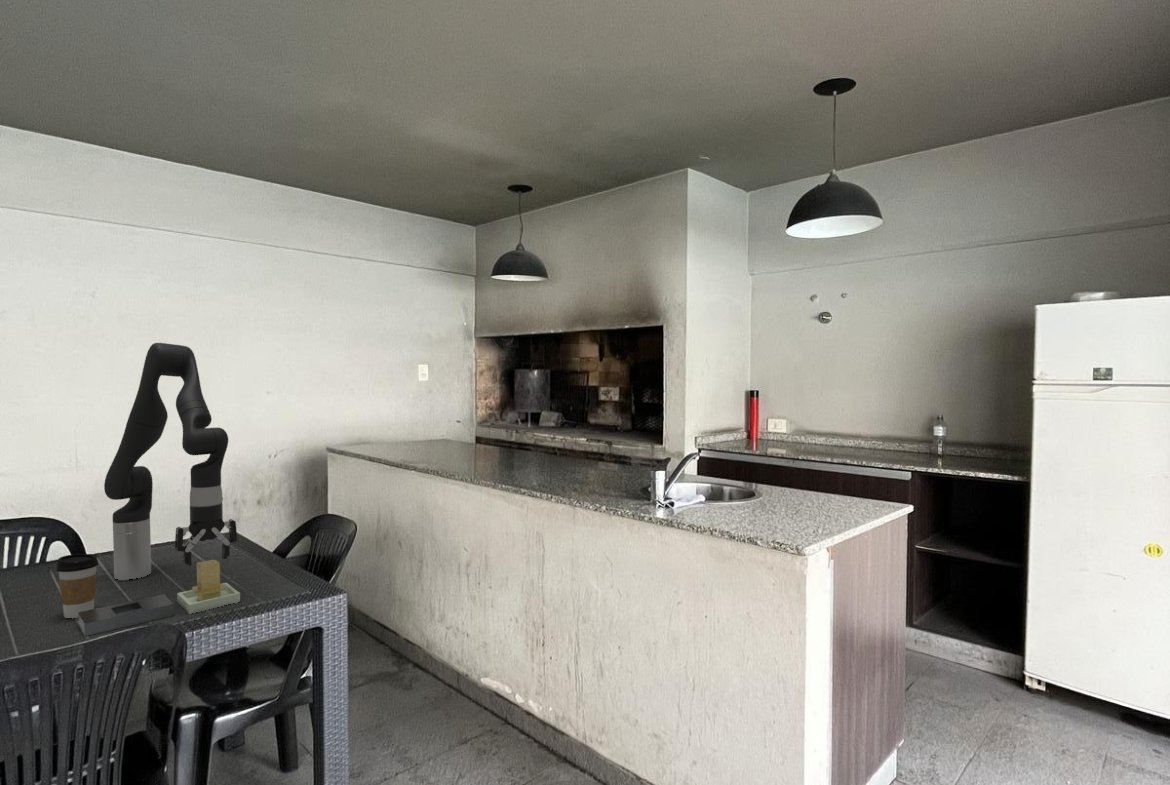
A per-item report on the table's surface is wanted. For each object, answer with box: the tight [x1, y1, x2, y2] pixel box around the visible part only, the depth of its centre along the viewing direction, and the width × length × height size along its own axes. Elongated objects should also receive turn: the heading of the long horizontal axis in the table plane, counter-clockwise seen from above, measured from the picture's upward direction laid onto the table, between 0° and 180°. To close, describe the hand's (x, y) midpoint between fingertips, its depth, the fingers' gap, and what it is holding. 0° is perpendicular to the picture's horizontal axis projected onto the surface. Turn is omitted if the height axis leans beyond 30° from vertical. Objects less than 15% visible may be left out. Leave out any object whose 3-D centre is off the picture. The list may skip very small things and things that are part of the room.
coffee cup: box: [56, 553, 99, 620], centre depth 163 cm, size 8×8×15 cm
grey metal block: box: [77, 593, 175, 637], centre depth 159 cm, size 10×18×3 cm, turn 135°
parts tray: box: [176, 582, 241, 615], centre depth 171 cm, size 12×12×2 cm
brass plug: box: [191, 559, 225, 601], centre depth 171 cm, size 6×6×10 cm
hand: (206, 561), depth 171 cm, fingers open, 8 cm apart
